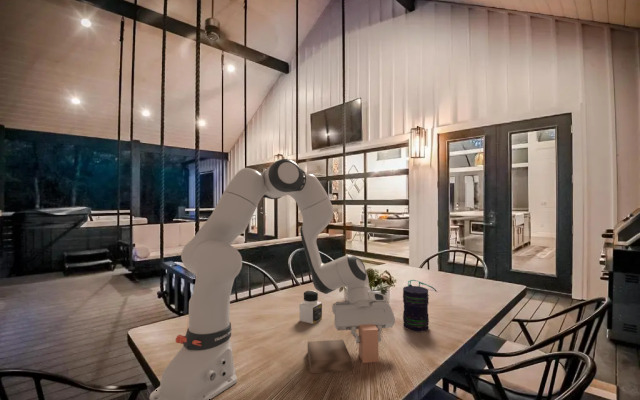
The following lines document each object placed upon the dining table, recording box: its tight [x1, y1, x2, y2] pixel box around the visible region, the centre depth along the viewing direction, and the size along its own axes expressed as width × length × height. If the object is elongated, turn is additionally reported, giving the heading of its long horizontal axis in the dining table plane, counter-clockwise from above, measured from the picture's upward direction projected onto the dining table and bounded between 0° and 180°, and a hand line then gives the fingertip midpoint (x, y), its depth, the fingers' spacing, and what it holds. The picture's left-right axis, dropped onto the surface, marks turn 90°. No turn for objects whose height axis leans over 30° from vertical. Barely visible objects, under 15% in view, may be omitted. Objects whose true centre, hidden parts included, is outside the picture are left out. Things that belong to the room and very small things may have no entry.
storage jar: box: [402, 285, 430, 333], centre depth 116 cm, size 10×10×15 cm
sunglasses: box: [407, 279, 437, 297], centre depth 164 cm, size 14×15×5 cm
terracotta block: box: [358, 324, 379, 364], centre depth 92 cm, size 5×5×10 cm
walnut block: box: [307, 339, 352, 374], centre depth 91 cm, size 12×12×4 cm
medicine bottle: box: [298, 289, 323, 325], centre depth 123 cm, size 7×7×12 cm
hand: (368, 342), depth 92 cm, fingers closed on terracotta block, 5 cm apart
